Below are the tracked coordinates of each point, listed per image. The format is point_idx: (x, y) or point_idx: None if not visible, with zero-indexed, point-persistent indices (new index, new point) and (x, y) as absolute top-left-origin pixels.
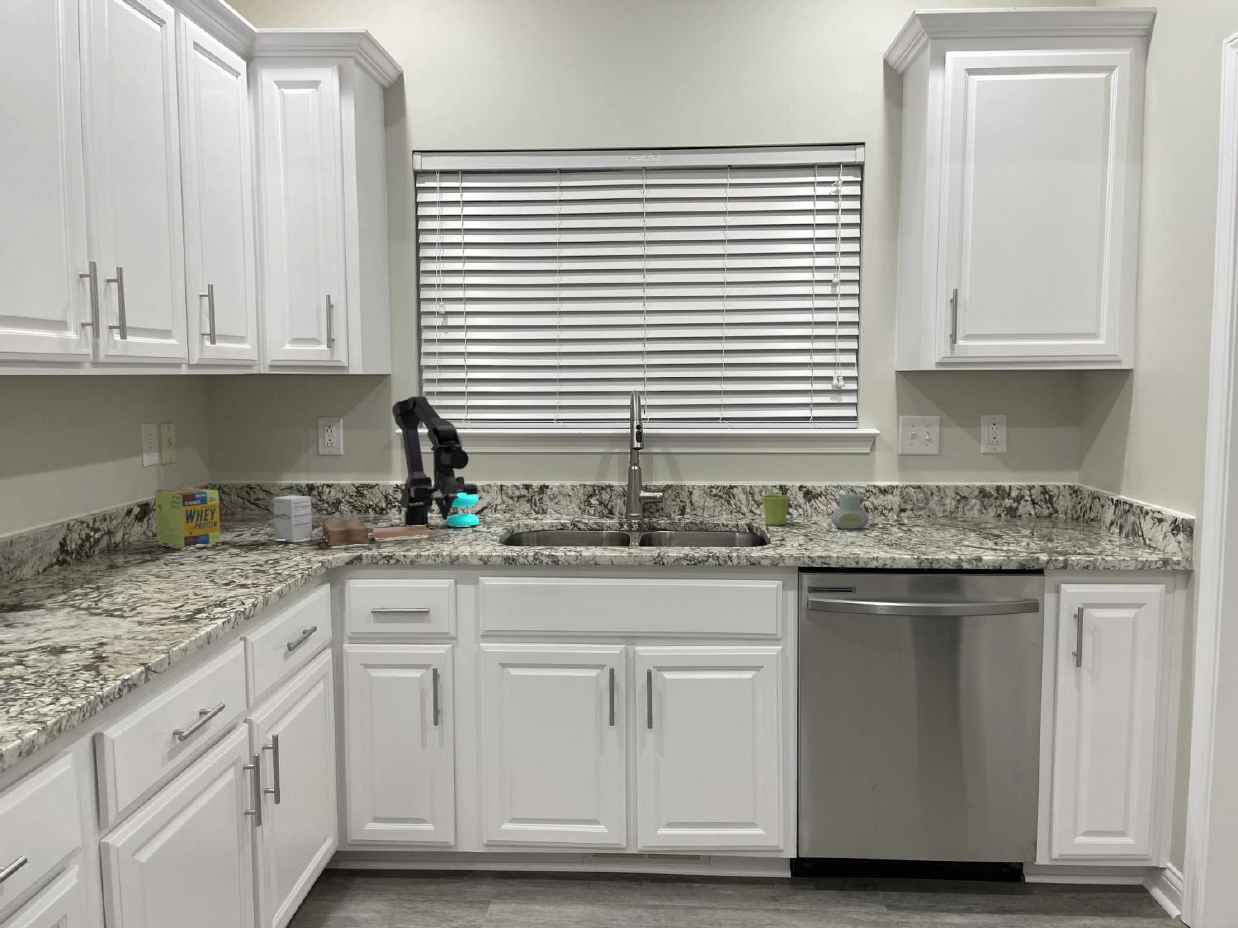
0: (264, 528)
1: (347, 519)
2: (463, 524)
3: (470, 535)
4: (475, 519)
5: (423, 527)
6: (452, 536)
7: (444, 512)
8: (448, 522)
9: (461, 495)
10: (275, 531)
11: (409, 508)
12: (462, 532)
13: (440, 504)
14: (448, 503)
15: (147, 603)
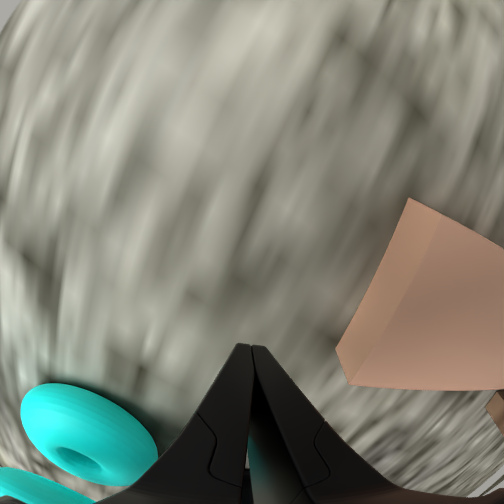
0: (473, 484)
1: None
2: (87, 398)
3: (110, 135)
4: (27, 404)
5: (402, 332)
6: (239, 169)
7: (271, 391)
8: (153, 451)
9: None
10: None
11: None
12: (119, 286)
13: (359, 471)
14: (222, 481)
15: None
